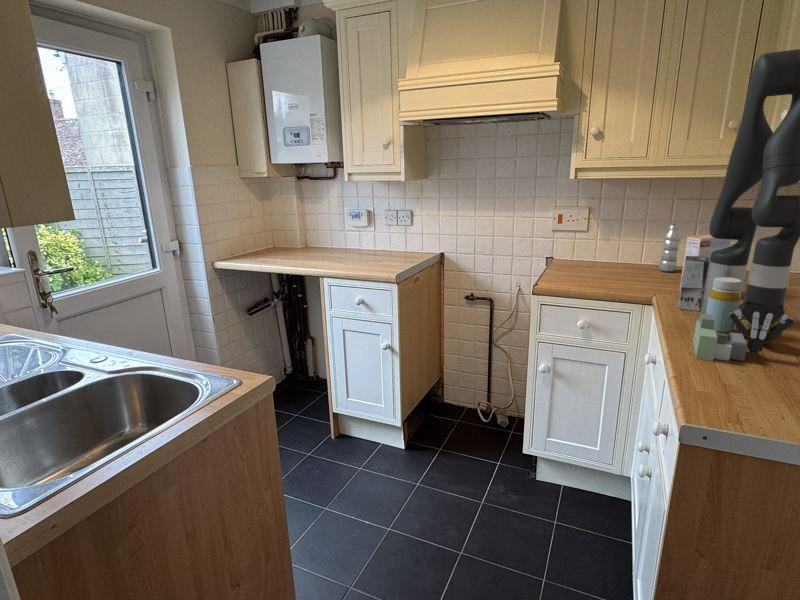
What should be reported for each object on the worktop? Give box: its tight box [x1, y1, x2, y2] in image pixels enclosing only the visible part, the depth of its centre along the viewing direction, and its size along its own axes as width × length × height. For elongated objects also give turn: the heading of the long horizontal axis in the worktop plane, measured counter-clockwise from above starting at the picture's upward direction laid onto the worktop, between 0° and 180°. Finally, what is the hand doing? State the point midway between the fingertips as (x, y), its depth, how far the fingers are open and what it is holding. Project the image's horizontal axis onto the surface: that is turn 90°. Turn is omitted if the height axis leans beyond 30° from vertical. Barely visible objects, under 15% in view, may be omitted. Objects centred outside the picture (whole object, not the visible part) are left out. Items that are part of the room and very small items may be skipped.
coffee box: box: [677, 256, 709, 312], centre depth 153 cm, size 9×6×16 cm
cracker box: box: [679, 234, 731, 295], centre depth 166 cm, size 14×6×21 cm, turn 108°
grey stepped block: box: [717, 332, 748, 362], centre depth 117 cm, size 8×6×4 cm
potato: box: [735, 318, 783, 344], centre depth 123 cm, size 8×13×8 cm, turn 154°
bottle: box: [706, 277, 741, 335], centre depth 131 cm, size 7×7×15 cm
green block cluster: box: [692, 313, 732, 362], centre depth 118 cm, size 13×7×8 cm, turn 152°
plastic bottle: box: [658, 223, 682, 273], centre depth 199 cm, size 6×7×20 cm
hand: (753, 351), depth 115 cm, fingers closed
